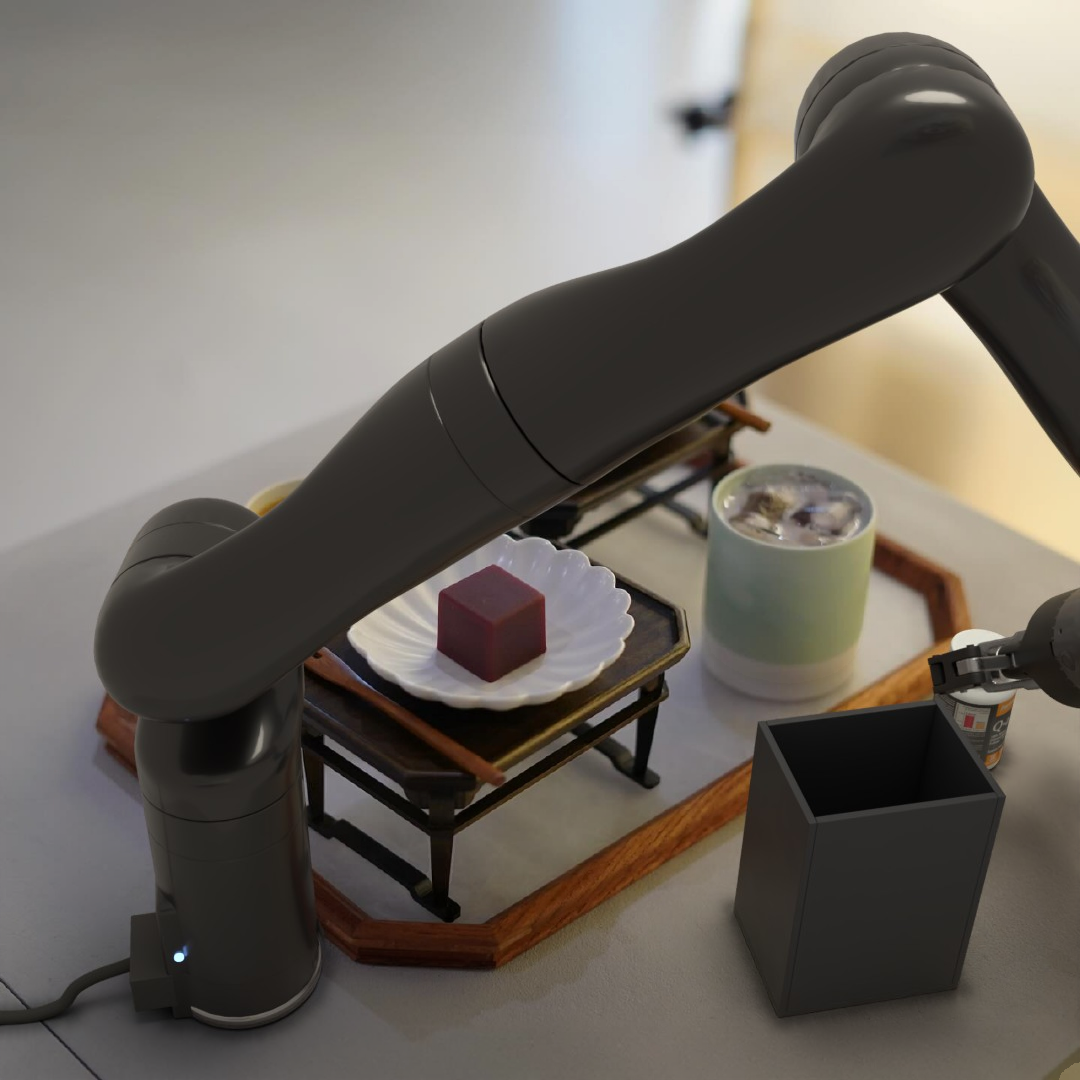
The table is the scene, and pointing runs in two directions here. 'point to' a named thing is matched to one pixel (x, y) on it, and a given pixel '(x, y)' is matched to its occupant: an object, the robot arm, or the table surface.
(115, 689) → the robot arm
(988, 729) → the pill bottle
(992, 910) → the table surface
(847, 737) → the waste bin
